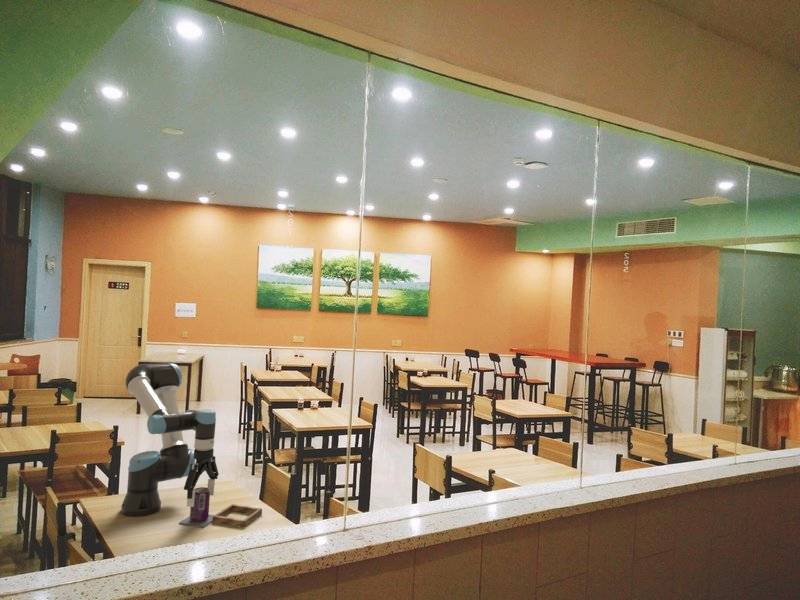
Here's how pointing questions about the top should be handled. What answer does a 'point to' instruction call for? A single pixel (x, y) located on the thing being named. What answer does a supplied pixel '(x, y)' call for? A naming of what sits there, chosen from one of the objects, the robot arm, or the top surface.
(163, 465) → the robot arm
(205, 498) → the beverage can
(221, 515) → the frame
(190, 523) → the coaster
